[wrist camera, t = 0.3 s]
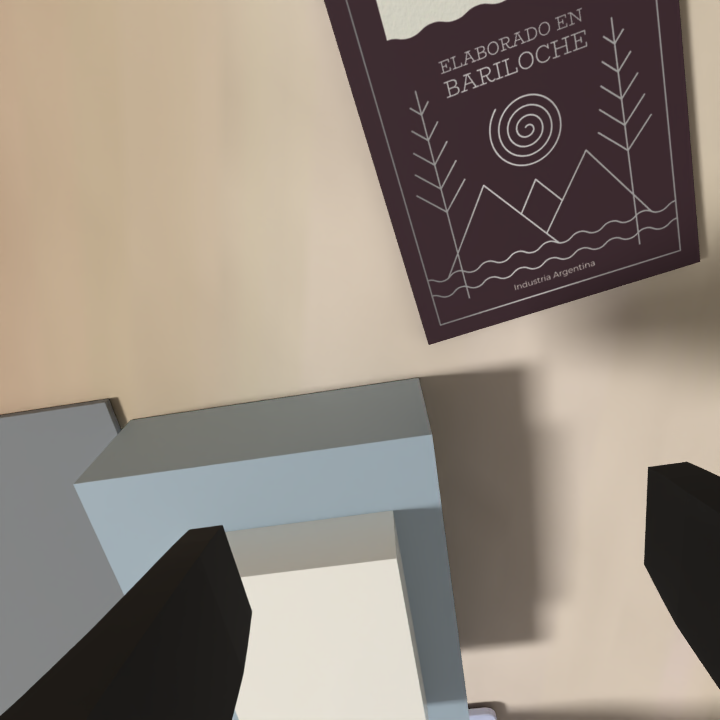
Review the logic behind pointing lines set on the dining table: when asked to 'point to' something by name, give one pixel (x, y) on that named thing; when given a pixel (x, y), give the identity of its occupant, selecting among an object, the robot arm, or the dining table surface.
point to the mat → (49, 540)
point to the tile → (328, 622)
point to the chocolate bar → (523, 147)
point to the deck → (289, 493)
